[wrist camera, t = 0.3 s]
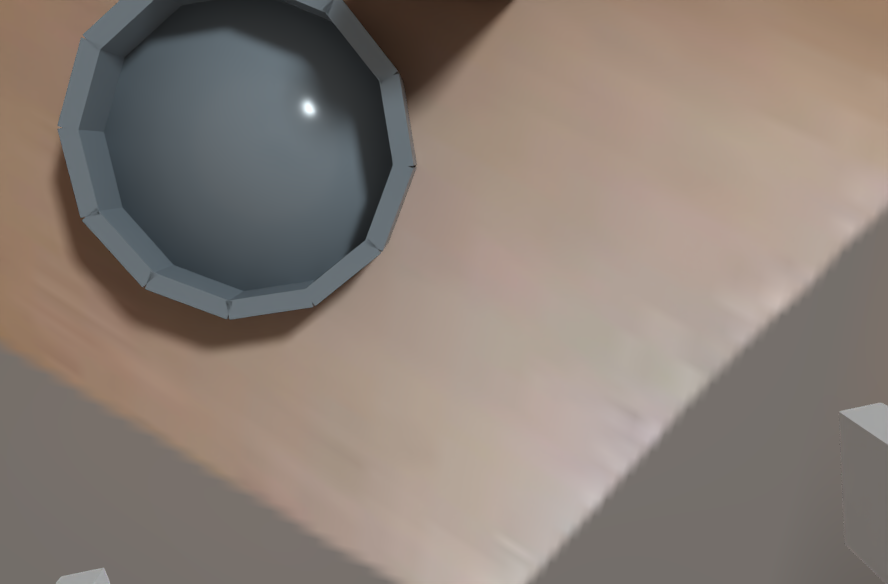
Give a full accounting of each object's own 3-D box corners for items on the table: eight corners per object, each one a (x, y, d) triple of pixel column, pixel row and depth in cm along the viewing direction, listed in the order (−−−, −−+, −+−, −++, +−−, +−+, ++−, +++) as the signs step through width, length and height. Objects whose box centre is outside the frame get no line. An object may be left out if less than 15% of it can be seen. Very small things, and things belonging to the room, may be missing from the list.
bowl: (64, 9, 35) (22, -7, 31) (383, -44, 34) (376, -67, 31) (141, 321, 38) (111, 337, 35) (434, 277, 38) (433, 289, 34)
